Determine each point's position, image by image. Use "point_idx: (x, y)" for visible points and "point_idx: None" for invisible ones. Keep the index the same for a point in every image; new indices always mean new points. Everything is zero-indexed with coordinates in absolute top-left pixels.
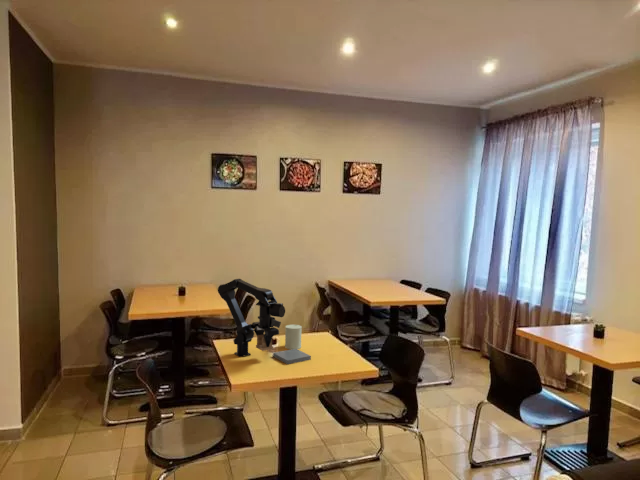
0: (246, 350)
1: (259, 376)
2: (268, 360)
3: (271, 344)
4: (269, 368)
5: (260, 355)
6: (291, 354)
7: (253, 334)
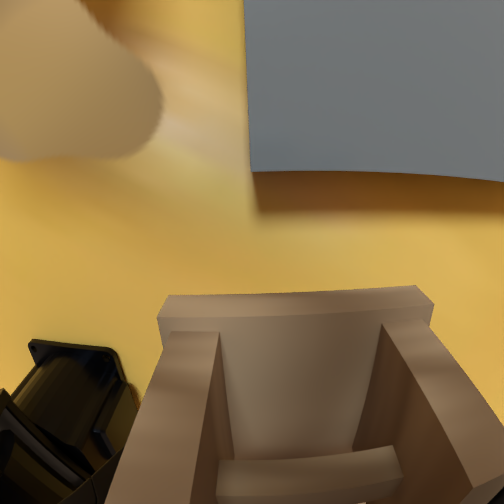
0: (118, 421)
1: (499, 413)
2: (342, 277)
3: (438, 357)
4: (481, 343)
5: (149, 276)
6: (423, 20)
7: (5, 487)
